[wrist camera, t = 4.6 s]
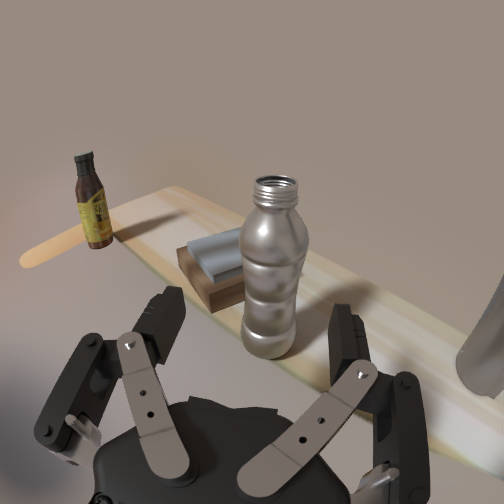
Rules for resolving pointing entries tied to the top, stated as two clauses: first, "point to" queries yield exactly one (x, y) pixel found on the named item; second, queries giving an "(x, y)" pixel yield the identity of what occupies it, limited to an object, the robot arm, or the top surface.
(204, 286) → the plinth
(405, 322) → the top surface
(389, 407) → the robot arm
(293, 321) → the silver bottle
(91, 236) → the sauce bottle
